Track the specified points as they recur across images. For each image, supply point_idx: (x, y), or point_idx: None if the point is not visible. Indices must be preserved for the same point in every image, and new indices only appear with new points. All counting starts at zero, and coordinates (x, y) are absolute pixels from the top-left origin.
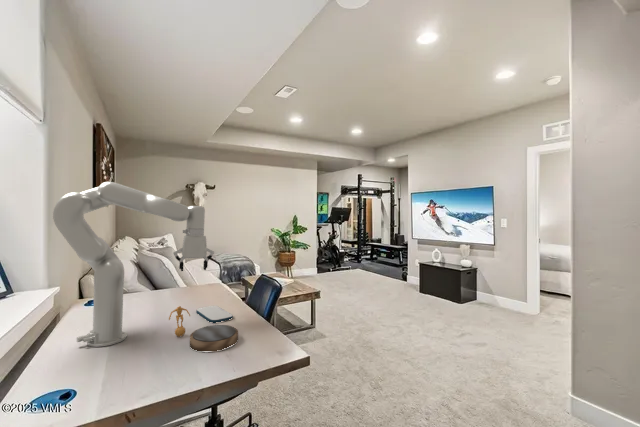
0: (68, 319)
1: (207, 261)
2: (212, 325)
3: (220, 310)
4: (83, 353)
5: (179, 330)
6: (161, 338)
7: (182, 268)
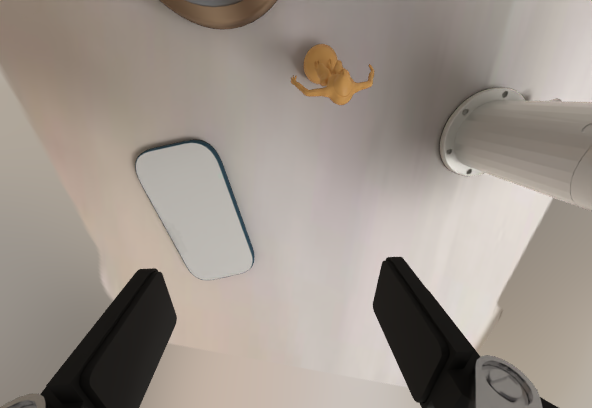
0: (494, 298)
1: (39, 398)
2: (204, 2)
3: (180, 231)
4: (545, 62)
5: (326, 46)
6: (367, 77)
7: (406, 275)
